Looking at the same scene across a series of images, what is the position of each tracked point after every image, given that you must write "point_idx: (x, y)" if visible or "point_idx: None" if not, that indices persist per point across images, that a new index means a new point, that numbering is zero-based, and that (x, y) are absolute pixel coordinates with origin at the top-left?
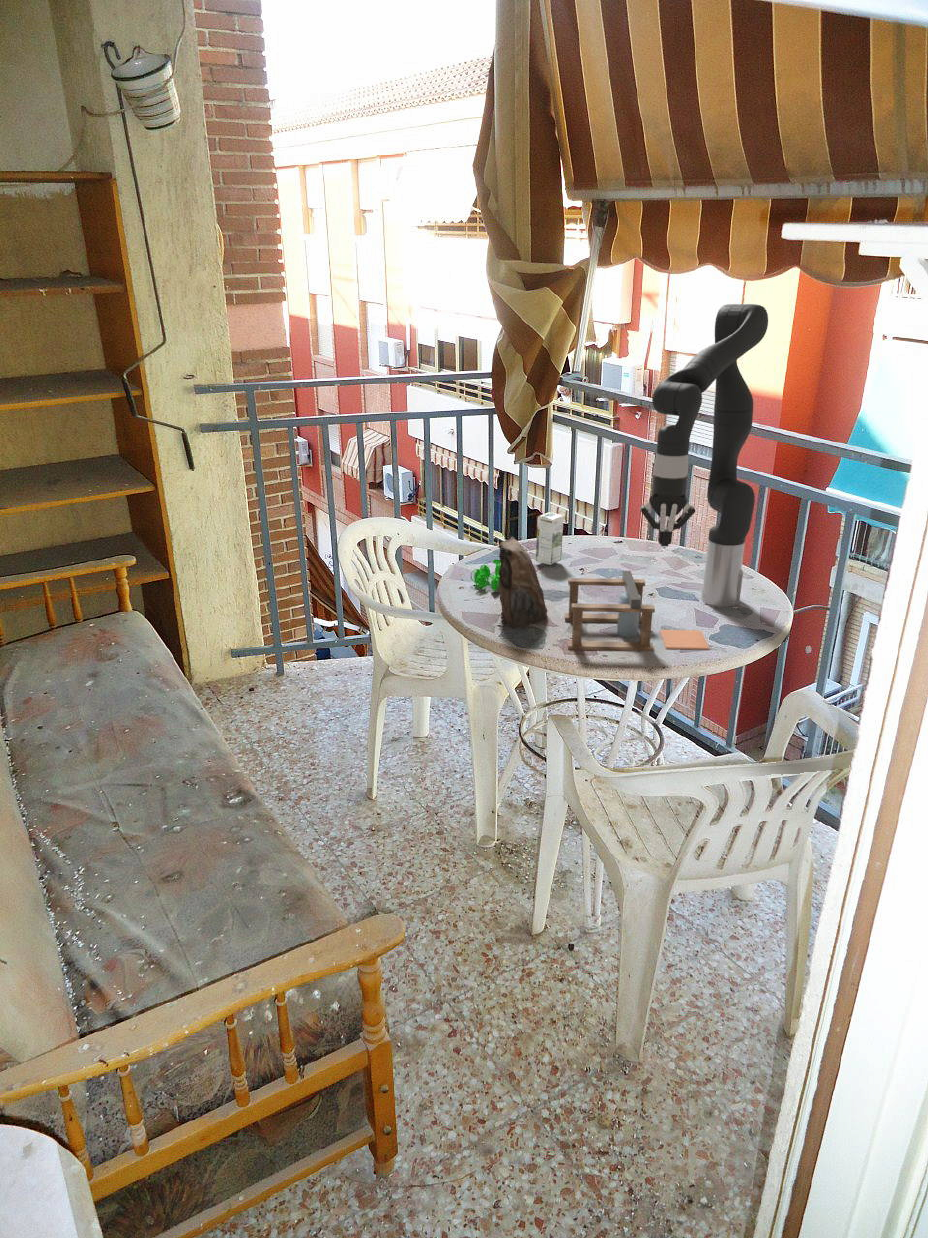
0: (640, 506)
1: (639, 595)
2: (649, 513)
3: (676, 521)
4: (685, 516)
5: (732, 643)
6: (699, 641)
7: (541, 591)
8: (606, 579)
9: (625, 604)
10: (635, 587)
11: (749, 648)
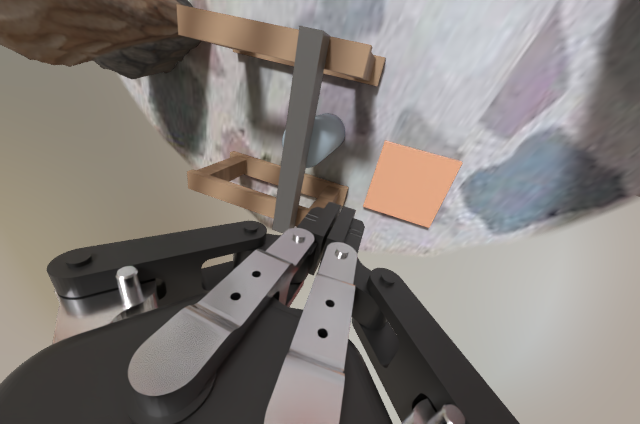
0: (52, 268)
1: (324, 145)
2: (166, 282)
3: (376, 300)
4: (401, 408)
5: (491, 212)
6: (428, 203)
7: (150, 21)
8: (266, 31)
9: (275, 202)
10: (297, 172)
11: (506, 236)
